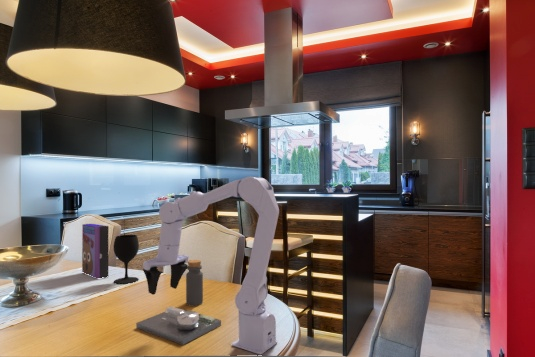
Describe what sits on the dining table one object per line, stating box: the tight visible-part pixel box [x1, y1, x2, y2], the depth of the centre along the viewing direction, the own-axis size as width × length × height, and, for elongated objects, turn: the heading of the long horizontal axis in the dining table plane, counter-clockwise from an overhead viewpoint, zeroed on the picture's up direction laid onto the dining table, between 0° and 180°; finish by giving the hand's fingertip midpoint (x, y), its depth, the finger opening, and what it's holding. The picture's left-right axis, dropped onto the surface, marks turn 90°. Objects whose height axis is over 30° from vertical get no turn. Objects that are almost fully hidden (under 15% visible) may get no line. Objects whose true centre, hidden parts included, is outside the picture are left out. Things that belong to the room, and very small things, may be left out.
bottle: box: [185, 259, 204, 307], centre depth 120 cm, size 6×6×15 cm
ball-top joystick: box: [164, 306, 200, 330], centre depth 98 cm, size 12×6×4 cm, turn 56°
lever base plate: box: [135, 307, 222, 346], centre depth 100 cm, size 20×15×2 cm
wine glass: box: [113, 234, 140, 285], centre depth 150 cm, size 10×10×20 cm
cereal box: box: [81, 223, 109, 279], centre depth 160 cm, size 17×5×24 cm, turn 50°
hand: (163, 290), depth 96 cm, fingers open, 7 cm apart
